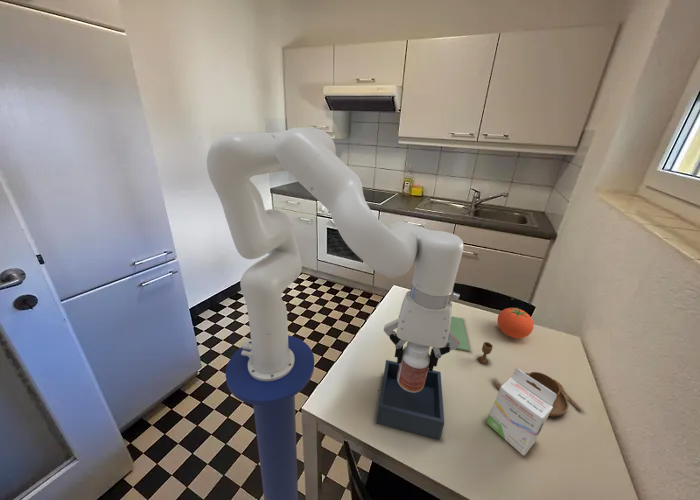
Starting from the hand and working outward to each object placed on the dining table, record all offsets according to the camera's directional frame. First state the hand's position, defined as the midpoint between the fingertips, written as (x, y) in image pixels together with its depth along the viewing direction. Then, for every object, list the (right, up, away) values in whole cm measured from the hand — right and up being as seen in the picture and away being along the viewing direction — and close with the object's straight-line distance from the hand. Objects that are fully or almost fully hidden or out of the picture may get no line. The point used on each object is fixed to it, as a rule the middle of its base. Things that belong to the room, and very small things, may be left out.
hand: (414, 362), depth 61 cm
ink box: (+21, -16, 0) cm, 26 cm away
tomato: (+39, -3, +31) cm, 50 cm away
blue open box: (0, -12, +5) cm, 13 cm away
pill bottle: (-1, -6, +3) cm, 6 cm away
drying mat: (+15, -2, +31) cm, 35 cm away
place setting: (+32, -11, +13) cm, 36 cm away
